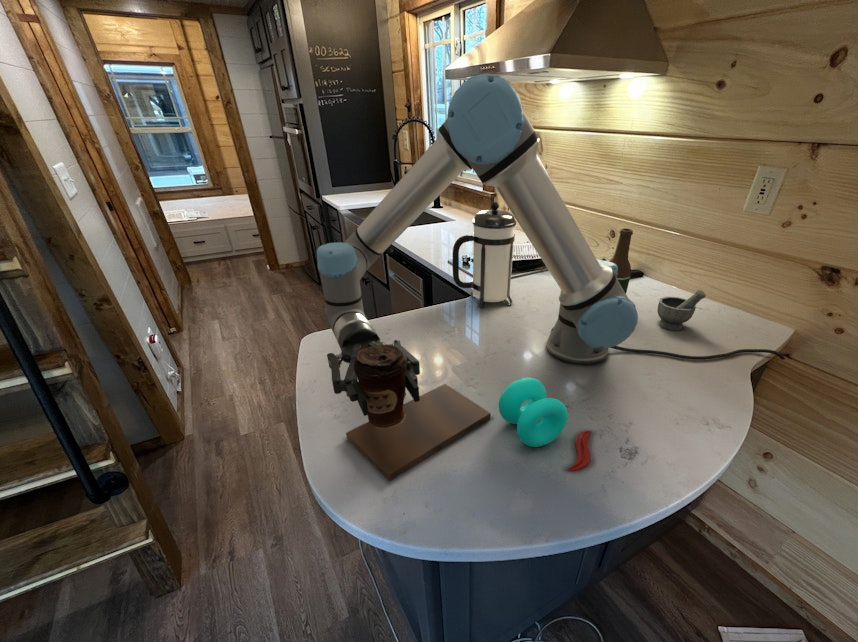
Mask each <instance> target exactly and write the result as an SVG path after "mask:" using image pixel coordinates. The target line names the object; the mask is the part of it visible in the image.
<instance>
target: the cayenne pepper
mask: <svg viewBox="0 0 858 642" xmlns="http://www.w3.org/2000/svg"><path fill="white" fill-rule="evenodd" d="M590 435H592V431H591V430H585V431H581V432H579V433H578V434H577V436H576V439H575V443H574V446H575V451H576V461H575V463H574V464H573V465H571V466H570V467H568V468H567V470H566V471H568V472H575V471H580V470H583V469H585V468H587V467H588V466H589V465H590V463H591V457H592V456H591V452H590V449H589V437H590Z"/></svg>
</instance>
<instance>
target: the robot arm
mask: <svg viewBox="0 0 858 642" xmlns="http://www.w3.org/2000/svg"><path fill="white" fill-rule="evenodd" d="M522 103H523V102H522V99H521V96H520V94H519V93H518V91H517V90H516V89H515V87H514V86H513V85H512V84H511V82H509V81H508V80H506V79H505V78H503V77H502V76H500V75H498V74H497V75H496V74H493V73H479V74H475V75H474V76H470V77H469V78H468V79H467V80H465V81H464V82H462V83H461V85H460V86H459V87H458V88H457V89H456V90H455V91H454V93H453V95H452V96H451V99H450V102H449V105H448V109H447V116H446V120H444V122H443V123H442V124H441V126H439V127H438V128H437V130H436V139H435V141H434V142H433V143H432V144H431V145H430V146H429V147H428V148H427V150H426V151H425V152H424V153H423V154H422V155H421V156H420V157H419V158H418V160H416V161H415V163H414V164H413V165H412V166H411V167H410V168H409V170H408V171H407V172H406V173H405V174H404V175H403V176H402V178H400V180H399V181H398V182H397V183H396V184H395V185H394V186H393V188H392V189H390V191H389V192H388V193H387V194H386V195H385V196H384V198H383V199H381V201H380V202H379V203H378V204H377V205H376V206H375V207H374V209H373V210H372V211H371V212H370V213H369V214H368V215H367V216H366V217H365V218H364V220H363V221H362V222H361V223H360V224H359V225H358V227H357V228H356V229H355V230H354V231H353V232H352V233H351V234H350V235H349V237H347V238H346V239H345V241H344V242H340V241H339V242H338V241H337V242H329V243H326V244H322V245H320V246H318V248H317V249H316V260H317V265H316V266H317V270H318V274H319V277H320V282H321V287H322V292H323V298H324V299H323V300H324V304H325V309H324V315H325V318H326V322H327V324H328V326H329V328H330V329H331V331H332V334H333V335H334V338H335V340H336V342H337V345H338V346H339V349H340V351H341V352H340V354H339V353H338V354H335V353H334V352H329V353H327V354H326V357H327V363H328V367H329V368H330V370H331V371H330V372H331V382H332V387H333V392H334V394H335V395H339V394H342V392H345V393H346V397H347V398H349V401H350V402H351V403H353V402H357V403H358V405H359V407H360V410H361V412H362V414H363V416H364V417H365V416H368V415H369V412H368V405H367V400H366V398H365V396H364V393H363V391H362V389H361V387H360V386H359V383H358V377H357V376H356V374H355V371H354V361H355V360H356V359H357V358H356V356H357V354H358V353H359V351H360V350H362V349H365V348H369V347H373V346H375V345H387V344H386V342H385V341H382V340H381V338H380V336H379V334H378V333H377V332H376V330H375V329H374V327H373V325H372V324H371V323H370V321H369V320H368V318H367V316H366V315H365V312H364V303H363V296H362V289H361V279H362V278H363V277H364V275H365V274H366V273H367V271H368V270H369V269H370V268H371V266H373V264H374V263H375V262H376V261H377V260H378V259H379V258H380V257H381V256H382V255H383V253H385V252H386V251H387V250H388V249H389V248H390V246H391V245H393V244H394V243H395V241H396V240H397V239H398V238H399V237H400V236H401V235H402V234H404V232H405V231H406V230H407V229H408V228H409V227H410V226H411V225H412V224H413V223H414V222H415V221H416V220H417V219H418V218H419V217H420V215H422V214H423V213H424V211H425V210H427V209H428V208H429V206H430V205H431V204H433V202H434V201H435V200H437V198H438V197H439V196H440V195H441V194H442V193H443V192H444V191H445V190H446V189H447V188H448V187H449V186H450V185H451V184H452V183H453V182H454V181H455V180H456V179H457V178H458V176H460V175H461V173H463V172H464V171H472V170H473V172H474V173H475V174H476V176H477V177H478V179H479V180H480V182H481V184H482V185H485V186H490V187H493V188H495V189H496V191H497V192H498V194H499V195H500V197H501V198H502V200H503V202H504V203H505V204H506V206H507V208H508V210H509V211H510V213H511V214H512V215H513V216H514V218H515V220H516V223H518V226H519V227H520V228H521V230H522V231H523V233H524V234H525V236H526V238H527V239H528V240H529V242H530V243H531V245H532V246H533V248H534V250H535V251H536V253H537V255H538V256H539V258H540V259H541V261H542V262H543V264H544V266H545V267H546V268H547V270H548V272H549V274H550V275H551V276H552V278H553V280H554V281H555V282H556V285H558V287H559V288H560V292H559V296H558V301H559V302H560V303H559V308H558V316H557V320H556V322H555V324H554V325H553V326H552V328H551V329H550V333H549V335H548V338H547V342H546V349H547V351H548V352H549V353H550V354H551V355H552V356H553V357H554V358H556V359H559V360H560V361H563V362H565V363H570V364H575V365H592V364H597V363H600V362H602V361H603V360H605V359H606V358H607V356H608V352H609V349H614V350H619V351H623V352H628V353H637V354H638V353H639V354H651V355H652V354H653V355H661V356H668V357H673V358H677V359H678V358H679V359H685V360H692V361H693V360H695V361H696V360H697V361H699V360H700V361H701V360H703V361H704V360H713V359H720V358H726V357H731V356H734V355H737V354H742V353H765V354H766V353H767V354H771V355H775V356H777V357H778V358H779V359H781V360H783V361H785V360H786V358H785V356H784V355H783V354H782V353H780V352H779V351H776V350H773V349H766V348H765V349H764V348H741V349H737V350H733V351H729V352H725V353H719V354H712V355H702V356H701V355H699V356H697V355H686V354H679V353H673V352H669V351H662V350H654V349H653V350H652V349H641V348H639V349H638V348H630V347H629V348H628V347H623V346H619V345H621V344H622V343H623V342H625V341H627V340H628V338H630V337H631V335H632V334H633V333H634V332H635V331H634V330H636V327H637V325H638V321H639V314H638V310H637V307H636V305H635V303H634V302H633V301H632V300H631V299H630V298H629V297H628V295H627V293H626V294H625V292H624V290H623V288H622V287H621V285H620V283H619V281H618V279H617V278H616V277H617V275H618V273H617V271H618V267H617V265H616V264H614V263H612V262H609V260H602V259H597V257H596V256H595V254H594V252H593V251H592V249H591V247H590V245H589V243H588V241H587V240H586V238H585V236H584V235H583V233H582V231H581V230H580V228H579V226H578V225H577V222H576V220H575V219H574V217H573V215H572V214H571V212H570V210H569V208H568V207H567V205H566V202H565V201H564V200H563V198H562V196H561V194H560V193H559V191H558V189H557V187H556V185H555V184H554V182H553V180H552V179H551V177H550V175H549V173H548V171H547V169H546V168H545V166H544V165H543V163H542V160H541V159H540V158H539V156H538V148H539V145H540V138H539V136H538V134H537V132H536V130H535V129H534V127H533V125H532V122H531V121H530V120H529V117H528V116H527V114H526V113H525V110H524V106H523V104H522ZM388 345H394V346H396V347H398V348H400V349H401V350H402V351H403V354H404V355H405V356H406V357H407V366H406V371H405V380H406V390H407V391H408V393H409V395H410V396H411V398H412V400H413V399H414V401H415V402H418V401H420V399H419V396H420V386H419V381H418V379H419V378H418V376H419V375H420V374H421V369H420V366H421V365H420V360H419V359H418V358H417V357H415V356H414V355H413V354H412V353H411V352H409V351H408V350H407V349H406V348H405V347H404V346H403V345H402V343H401V340H400V339H394V340H393V343H391V344H389V343H388ZM342 362H344V363H347V364H348V367H347V370H346V372H345V375H344V378H343V379H342V378H341V369H340V368H341V365H342Z"/></svg>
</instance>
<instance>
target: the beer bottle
mask: <svg viewBox="0 0 858 642" xmlns="http://www.w3.org/2000/svg"><path fill="white" fill-rule="evenodd" d="M618 233H619V237H618V239H617V243H616V248H615V250H614V254H613V256H612V257H611V258H610V259H608V261H609V262H612V263H614V264H616V265H617V267H618V271H617V273H618V275H617V277H616V278H617V279H618V281H619V283H620V285H621V287H622V288H623V290H624V292H625V294H626V295H627V291H628V288H629V283H630V279H631V275H632V266H631V262H630V260H629V252H630V246H631V240H632V235H633V234H634V231H633V229H631V228H625V227H624V228H620V229H619V232H618Z"/></svg>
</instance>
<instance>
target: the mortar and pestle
mask: <svg viewBox="0 0 858 642" xmlns="http://www.w3.org/2000/svg"><path fill="white" fill-rule="evenodd" d="M706 297H707V294H706V293H705V291H704V290H702V289H696V290H695V292H694V293H693V294H692V295H691V296H690V297H688V298H687V299H686V298H682V297H679V296H664V297H660V298H659V301H658V304H657V315H658V317H659V319H660V321H659V324H658V325H659V326H661V327H662V328H664V329H667V330H670V331H679V330H682V328H683V324H684V323H686V322H689V321H690V320H691V319H692V317H693V316H694V314H695V311H696V306H697V304H698V303H699V302H700V301H702V300H703V299H705V298H706Z"/></svg>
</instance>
